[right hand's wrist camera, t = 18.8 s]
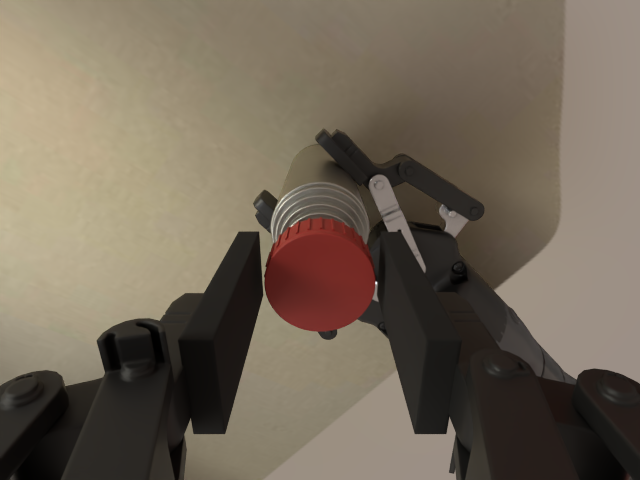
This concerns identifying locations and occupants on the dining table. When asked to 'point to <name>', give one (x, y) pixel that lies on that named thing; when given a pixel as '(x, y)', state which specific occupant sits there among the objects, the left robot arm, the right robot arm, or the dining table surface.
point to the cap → (320, 275)
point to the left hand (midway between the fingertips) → (289, 166)
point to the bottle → (319, 194)
